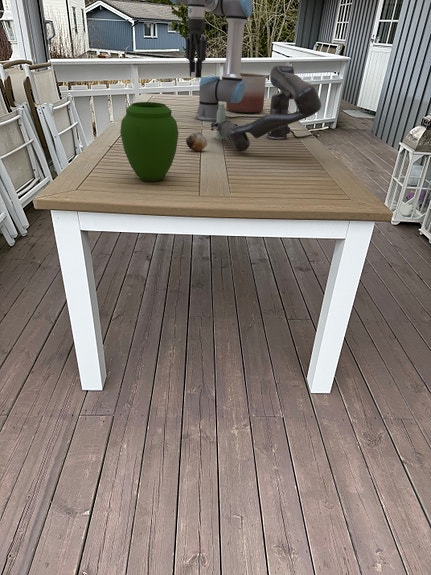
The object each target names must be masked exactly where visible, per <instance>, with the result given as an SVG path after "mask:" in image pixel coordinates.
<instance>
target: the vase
mask: <svg viewBox="0 0 431 575" xmlns="http://www.w3.org/2000/svg"><path fill="white" fill-rule="evenodd" d="M125 113H126V114H125V115H124V117H122V119H121V122H120V123H121V124H120V130H119V133H120V138H121V142H122V147H123V150H124V154H125V155H126V158H127V160H128V163H129V165H130V167H131V168H132V170H133V172H134V173H135V175H136V176H137V177H138V178H139V179H141V180H143V181H145V182H159V181H161V180H163V179H164V178H165V176H166V175H167V174H168V173H169V170H170V169H171V167H172V165H173V162H174V159H175V157H176V156H175V155H176V153H177V147H178V140H179V129H178V122H177V120H176V119H175V117H174V116H173V115H172V109H171V108H170V107H169V106H167V105H166V104H164V103H162V102H155V101H138V102H132V103H131V104H130V105H128V107H127V108H125Z"/></svg>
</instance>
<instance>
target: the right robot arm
mask: <svg viewBox="0 0 431 575" xmlns="http://www.w3.org/2000/svg"><path fill="white" fill-rule="evenodd" d="M269 80H270V84H271V85H272V86H273V88H277V89H278V90H279V92H277V93H274V94H272V95H271V97H270V98H271V99H270V106H269V107H270V108H269V113H268V114H265V115H262V116H263V117H261V118H257V119H256V120H254V121H252V122H248V123H245V124H241V125H238V124H237V123H234V122H232V121H230V120H225V121H223V122H222V123H217V121H212V122H211V123H210V131H216V130H218V131H219V133H220V135H221V136H222V137H224V140H226V141H228V142H229V143H230V144H231V145H232V147H233V148H234V150H236V151H237V152H245V151H247V150H248V149H249V147H250V146H251V141H250V139H249V136H248V135H247V134H248V133H249V134H251V135H252V137H253V138H254V139H260V138H262V137H264V136H265V135H266V137H267V139H271V140H287V137H288V135H289V134H290V133H291V134H292V136H293V137H294V138H295V139H304V138H309V137H315V138H316V139H319V136H318V135H317V134H315V133H314V134H307V135H301V136H300V135H298V136H297V135H296V134H295V133H294V131H293V130H291V127H290V126H289V125H291V124H293V123H296V122H299V121H301V120H304V119H307V118H310V117H311V116H314V115H315V114H317V113H318V112H319V111H320V110H321V108H322V106H323V105H322V101H321V99H320V96H319V93H318V91H317V88H316V87H315V86H314V85H313V84H312V83H309V82H307V81H305V80H304V79H302V78H301V77H300V76H299V75H298V74H295V69H294V66H292V65H282V64H281V65H280V64H278V65H274V66H272V68H271V70H270V73H269ZM291 100H293V101H294V103H295V107H296V108H297V111H294V112H291V113H289V110H290V101H291ZM312 135H313V136H312Z"/></svg>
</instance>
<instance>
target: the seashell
mask: <svg viewBox="0 0 431 575" xmlns="http://www.w3.org/2000/svg"><path fill="white" fill-rule="evenodd" d="M185 143H186V146H187V147H188V148H189V149H190V150H192V151H194V152H197V151H198V152H199V151H201V150H204V149H205V148H206V147H207V146H208V141H207V138H206V137H205V136H204V135H203V134H202V132H201V131H197V132H195V133H192V134H190V135H189V136H188V137H187V138H186V139H185Z"/></svg>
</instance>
